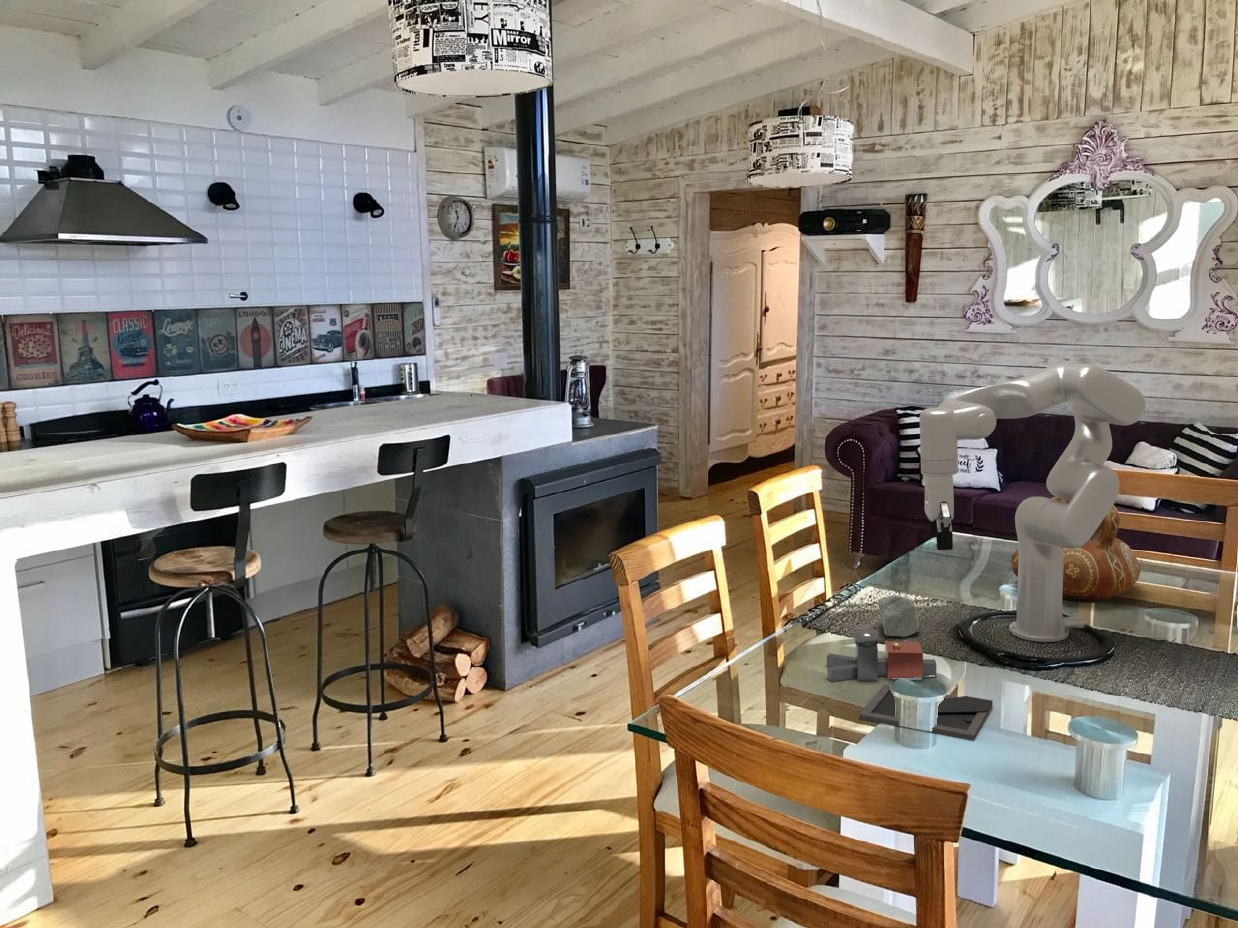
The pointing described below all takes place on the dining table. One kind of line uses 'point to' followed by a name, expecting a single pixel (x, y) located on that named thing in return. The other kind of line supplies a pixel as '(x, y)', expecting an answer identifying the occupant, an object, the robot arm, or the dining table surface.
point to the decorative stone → (898, 616)
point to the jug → (1096, 564)
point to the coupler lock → (904, 659)
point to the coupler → (865, 660)
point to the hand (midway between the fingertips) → (941, 543)
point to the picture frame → (953, 713)
